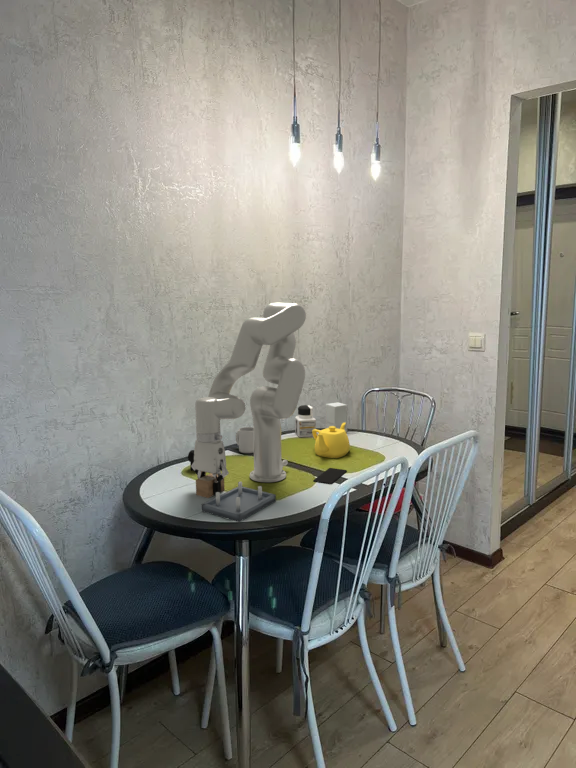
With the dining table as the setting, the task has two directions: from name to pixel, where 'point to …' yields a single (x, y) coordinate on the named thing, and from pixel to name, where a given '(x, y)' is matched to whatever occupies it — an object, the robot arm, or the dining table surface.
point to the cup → (245, 440)
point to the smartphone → (330, 476)
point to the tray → (238, 503)
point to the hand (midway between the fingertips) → (210, 491)
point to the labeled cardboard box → (206, 486)
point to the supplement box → (336, 415)
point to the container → (305, 421)
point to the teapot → (331, 442)
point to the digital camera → (191, 458)
